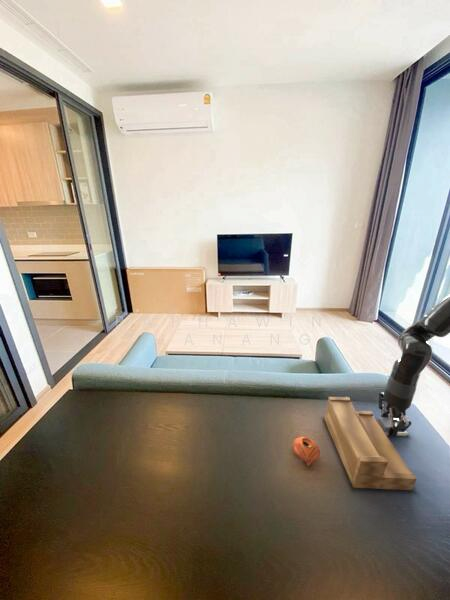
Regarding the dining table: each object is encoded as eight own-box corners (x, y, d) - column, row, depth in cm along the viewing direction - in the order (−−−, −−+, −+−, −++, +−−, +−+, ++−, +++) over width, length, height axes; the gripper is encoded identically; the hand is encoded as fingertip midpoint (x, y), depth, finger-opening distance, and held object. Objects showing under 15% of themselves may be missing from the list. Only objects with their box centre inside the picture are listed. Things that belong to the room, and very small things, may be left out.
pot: (289, 464, 74) (292, 443, 73) (293, 447, 81) (295, 428, 80) (317, 474, 71) (320, 453, 70) (319, 456, 78) (321, 437, 77)
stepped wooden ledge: (368, 420, 89) (375, 397, 85) (412, 490, 67) (423, 463, 64) (324, 419, 90) (328, 396, 86) (353, 487, 68) (360, 461, 64)
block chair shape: (399, 425, 87) (401, 417, 86) (407, 435, 83) (410, 428, 82) (376, 424, 88) (378, 416, 86) (383, 435, 84) (385, 427, 82)
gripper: (427, 406, 73) (412, 448, 79) (397, 375, 86) (386, 413, 92) (402, 406, 73) (388, 447, 79) (376, 375, 86) (366, 412, 92)
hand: (387, 428), depth 85 cm, fingers closed on block chair shape, 4 cm apart
